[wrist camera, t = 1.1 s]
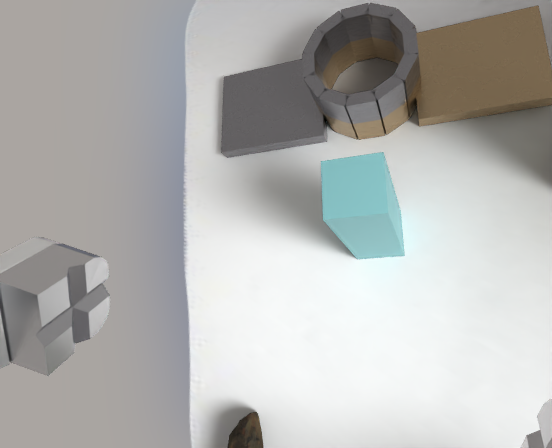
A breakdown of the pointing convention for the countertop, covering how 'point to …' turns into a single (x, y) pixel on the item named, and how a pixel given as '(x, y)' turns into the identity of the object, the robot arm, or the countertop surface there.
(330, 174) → the teal square block
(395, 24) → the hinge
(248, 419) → the hand tool
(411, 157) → the countertop surface
